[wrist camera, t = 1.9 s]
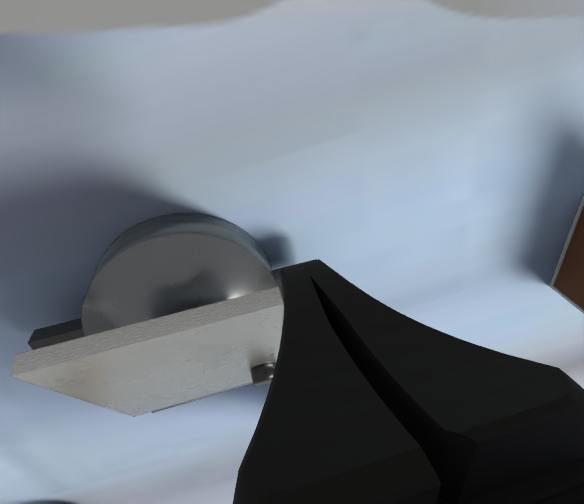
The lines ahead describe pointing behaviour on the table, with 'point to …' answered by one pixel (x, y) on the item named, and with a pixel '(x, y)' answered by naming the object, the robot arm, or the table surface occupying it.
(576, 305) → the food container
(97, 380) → the lid
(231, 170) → the table surface
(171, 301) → the pot
